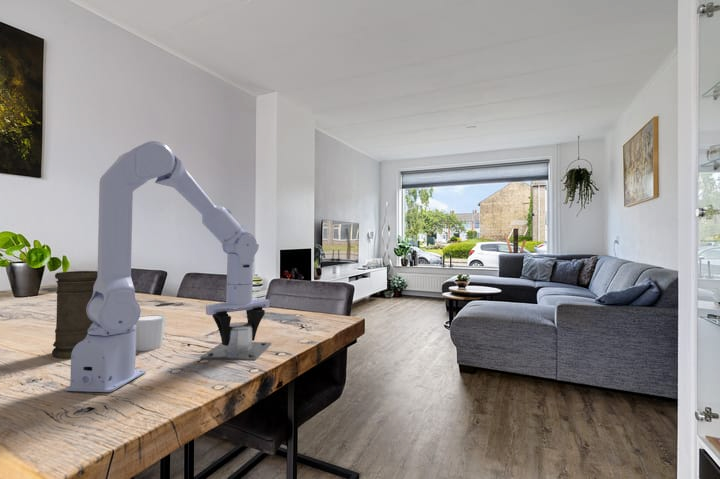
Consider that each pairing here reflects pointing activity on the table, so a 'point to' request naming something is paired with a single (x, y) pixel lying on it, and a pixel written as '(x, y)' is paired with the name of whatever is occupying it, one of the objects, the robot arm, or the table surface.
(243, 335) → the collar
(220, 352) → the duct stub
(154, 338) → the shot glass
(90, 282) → the container
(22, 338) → the table surface
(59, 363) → the table surface
